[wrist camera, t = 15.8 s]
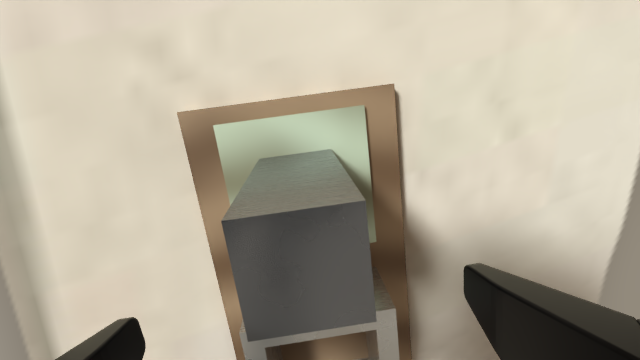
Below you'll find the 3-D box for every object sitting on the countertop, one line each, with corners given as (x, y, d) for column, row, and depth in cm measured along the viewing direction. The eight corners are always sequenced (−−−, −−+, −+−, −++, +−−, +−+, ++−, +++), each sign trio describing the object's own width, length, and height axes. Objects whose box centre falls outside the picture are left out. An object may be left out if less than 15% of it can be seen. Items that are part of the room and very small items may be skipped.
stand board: (408, 363, 26) (414, 378, 24) (249, 390, 25) (246, 407, 24) (389, 84, 20) (396, 83, 18) (183, 111, 19) (174, 112, 18)
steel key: (338, 215, 20) (376, 321, 11) (271, 225, 20) (247, 341, 11) (330, 148, 19) (365, 200, 10) (259, 158, 19) (220, 221, 9)
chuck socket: (385, 367, 24) (404, 426, 20) (271, 386, 24) (266, 450, 20) (375, 266, 22) (395, 308, 18) (250, 286, 22) (239, 333, 17)
